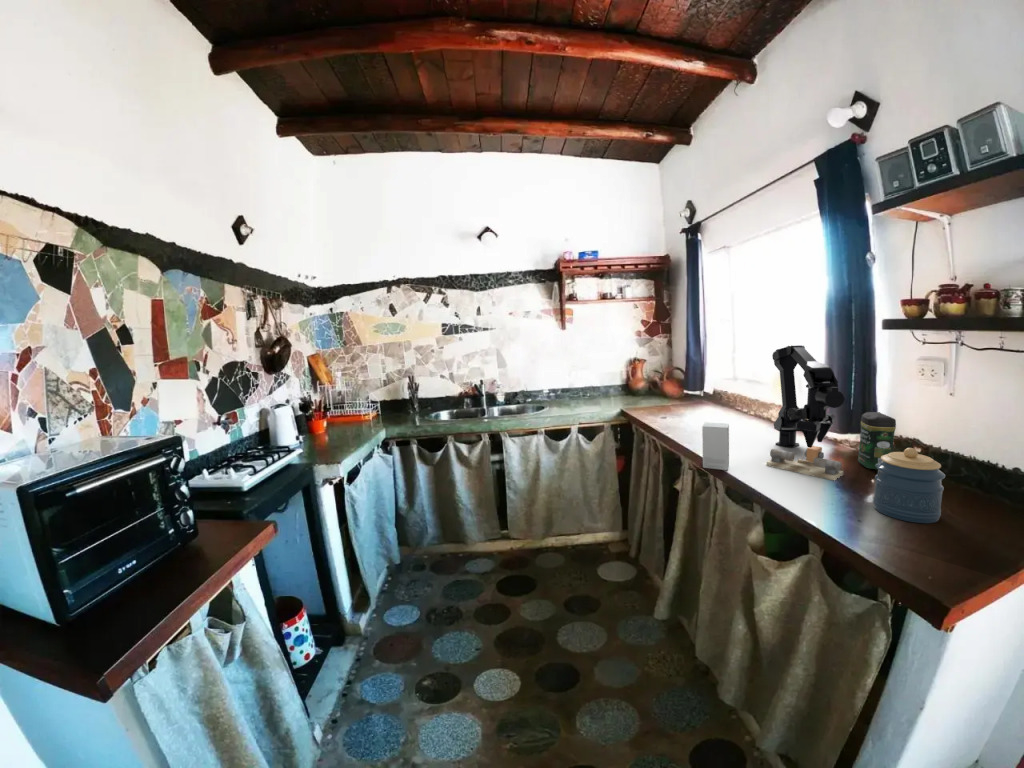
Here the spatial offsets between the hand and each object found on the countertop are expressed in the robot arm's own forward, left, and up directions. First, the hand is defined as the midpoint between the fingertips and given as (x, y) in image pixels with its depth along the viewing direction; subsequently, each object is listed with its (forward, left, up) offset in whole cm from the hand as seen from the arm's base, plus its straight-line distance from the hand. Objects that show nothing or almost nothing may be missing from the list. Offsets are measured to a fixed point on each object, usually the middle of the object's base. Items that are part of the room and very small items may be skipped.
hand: (814, 444), depth 148 cm
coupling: (0, 0, -6) cm, 6 cm away
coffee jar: (-8, +15, -6) cm, 18 cm away
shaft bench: (+12, +1, -6) cm, 14 cm away
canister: (+28, +30, -6) cm, 42 cm away
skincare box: (+30, -20, -6) cm, 37 cm away
